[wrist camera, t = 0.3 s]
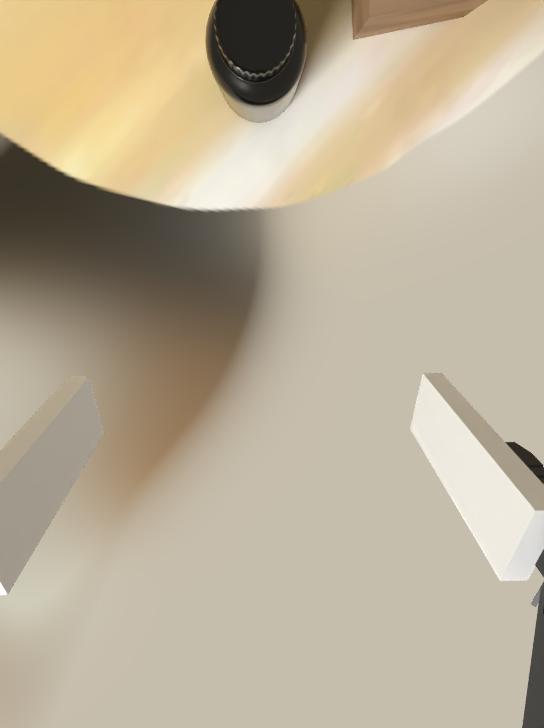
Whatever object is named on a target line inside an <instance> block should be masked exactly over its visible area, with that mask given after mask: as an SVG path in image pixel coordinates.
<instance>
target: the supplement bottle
mask: <svg viewBox="0 0 544 728" xmlns="http://www.w3.org/2000/svg"><path fill="white" fill-rule="evenodd" d="M206 51H207V57H208V61H209V65H210V68H211V71H212V73H213V76H214V78H215V80H216V82H217V84H218V86H219V88H220V90H221V92H222V94H223V97H224V98H225V100H226V102H227V103H228V105H229V106H230V108H231V109H232V110H233V111H234V112H235V113H236V114H238V115H239V116H240V117H242V118H244V119H246V120H248V121H251V122H267V121H270V120H272V119H274V118H276V117H278V116H279V115H280V114H281V113H282V112H284V110H285V109H286V108H287V107H288V105H289V104H290V102H291V100H292V98H293V96H294V94H295V91H296V89H297V86H298V83H299V80H300V77H301V74H302V71H303V68H304V64H305V60H306V53H307V33H306V26H305V22H304V18H303V15H302V12H301V10H300V8H299V6H298V4H297V2H296V0H216V1H215V2H214V5H213V7H212V9H211V12H210V14H209V18H208V22H207V27H206Z"/></svg>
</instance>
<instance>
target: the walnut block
mask: <svg viewBox="0 0 544 728" xmlns="http://www.w3.org/2000/svg"><path fill="white" fill-rule="evenodd" d="M486 1H487V0H352V22H353V40H354V39H358V38H363V37H368V36H373V35H378V34H383V33H387V32H392V31H397V30H402V29H407V28H412V27H416V26H421V25H426V24H431V23H436V22H441V21H446V20H450V19H455V18H460V17H464V16H465V15H467V14H468V13H470V12H471V11H473V10H474V9H475V8H477V7H478V6H480V5H481V4H483V3H484V2H486Z"/></svg>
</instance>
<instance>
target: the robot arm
mask: <svg viewBox="0 0 544 728" xmlns="http://www.w3.org/2000/svg"><path fill="white" fill-rule="evenodd" d="M410 429H411V431H412V433H413V434H414V436H415V438H416V439H417V441H418V443H419V444H420V446H421V448H422V450H423V451H424V453H425V455H426V456H427V458H428V460H429V461H430V463H431V465H432V466H433V468H434V470H435V471H436V473H437V475H438V476H439V478H440V480H441V482H442V483H443V485H444V487H445V488H446V490H447V492H448V493H449V495H450V497H451V498H452V500H453V502H454V503H455V505H456V507H457V509H458V510H459V512H460V514H461V515H462V517H463V519H464V521H465V522H466V524H467V526H468V527H469V529H470V530H471V532H472V534H473V535H474V537H475V539H476V541H477V542H478V544H479V546H480V547H481V549H482V551H483V553H484V554H485V556H486V558H487V559H488V561H489V563H490V564H491V566H492V568H493V569H494V571H495V573H496V574H497V576H498V578H499V580H500V581H516V580H517V581H518V580H528V579H529V577H530V575H531V573H532V572H533V570H534V568H535V566H536V567H537V568H538V570H539V571H540V573H541V574H542V575H543V577H544V467H543V465H542V463H540V461H539V460H538V459H537V458H536V457H535V456H534V455H533V454H532V453H531V452H529V451H527V450H526V449H524V448H523V447H521V446H520V445H518V444H517V443H515V442H504V441H503V440H502V438H501V437H500V436H499V435H498V434H497V433H496V432H495V431H494V430H493V429H492V427H491V426H490V425H489V424H488V423H487V422H486V421H485V420H484V419H483V418H482V417H481V416H480V414H479V413H478V412H477V411H476V410H475V409H474V408H473V407H472V406H471V405H470V403H469V402H468V401H467V400H466V399H465V398H464V397H463V396H462V395H461V394H460V393H459V391H458V390H457V389H456V388H455V387H454V386H453V385H452V384H451V383H450V382H449V380H447V379H446V377H445V376H444V375H443V374H442V373H423V375H422V380H421V384H420V388H419V393H418V397H417V401H416V406H415V410H414V414H413V419H412V423H411V428H410ZM103 434H104V431H103V427H102V423H101V419H100V416H99V412H98V408H97V404H96V401H95V397H94V393H93V389H92V385H91V382H90V378H89V377H69V378H68V379H67V380H66V381H65V382H64V383H63V384H62V385H61V386H60V387H59V388H58V389H57V390H56V391H55V392H54V394H53V395H52V396H51V397H50V398H49V399H48V400H47V401H46V402H45V403H44V404H43V405H42V406H41V408H39V410H38V411H37V412H36V413H35V414H34V415H33V416H32V417H31V418H30V419H29V420H28V421H27V422H26V424H25V425H24V426H23V427H22V428H21V429H20V430H19V431H18V432H17V433H16V434H15V435H14V436H13V437H12V438H11V440H10V441H9V442H8V443H7V444H6V445H5V446H4V447H3V448H2V449H1V450H0V595H8V593H9V592H10V590H11V588H12V587H13V585H14V583H15V582H16V580H17V578H18V577H19V575H20V573H21V571H22V570H23V568H24V566H25V565H26V563H27V562H28V560H29V558H30V556H31V555H32V553H33V551H34V550H35V548H36V546H37V545H38V543H39V541H40V540H41V538H42V536H43V535H44V533H45V531H46V530H47V528H48V526H49V525H50V523H51V521H52V519H53V518H54V516H55V515H56V513H57V511H58V509H59V508H60V506H61V505H62V503H63V501H64V500H65V498H66V496H67V494H68V493H69V491H70V489H71V488H72V486H73V484H74V483H75V481H76V479H77V478H78V476H79V474H80V472H81V471H82V469H83V468H84V466H85V464H86V463H87V461H88V459H89V458H90V456H91V454H92V452H93V451H94V449H95V447H96V446H97V444H98V443H99V441H100V439H101V438H102V436H103ZM538 602H539V605H538V613H537V620H536V628H535V636H534V643H533V651H532V659H531V666H530V673H529V681H528V689H527V696H526V704H525V711H524V719H523V726H522V728H544V582H543V584H542V586H541V587H540V589H539V591H538V593H537V594H536V596H535V597H534V599H533V601H532V603H531V604H532V605H533V606H535V607H536V606H537V604H538Z"/></svg>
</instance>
